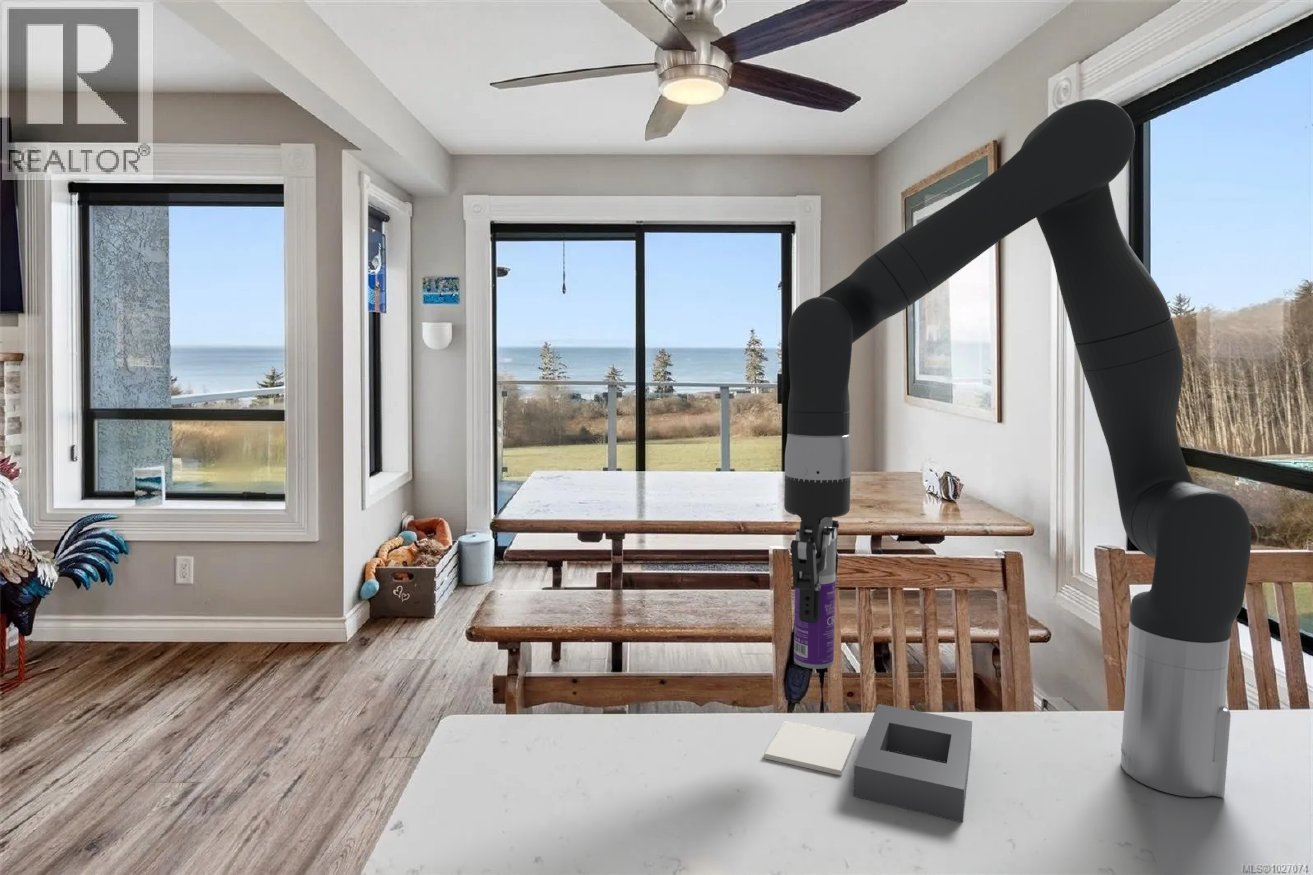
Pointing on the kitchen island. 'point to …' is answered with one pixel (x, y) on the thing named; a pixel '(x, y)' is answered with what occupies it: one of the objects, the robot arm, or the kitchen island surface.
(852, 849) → the kitchen island surface
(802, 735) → the tile
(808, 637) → the container
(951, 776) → the socket block
